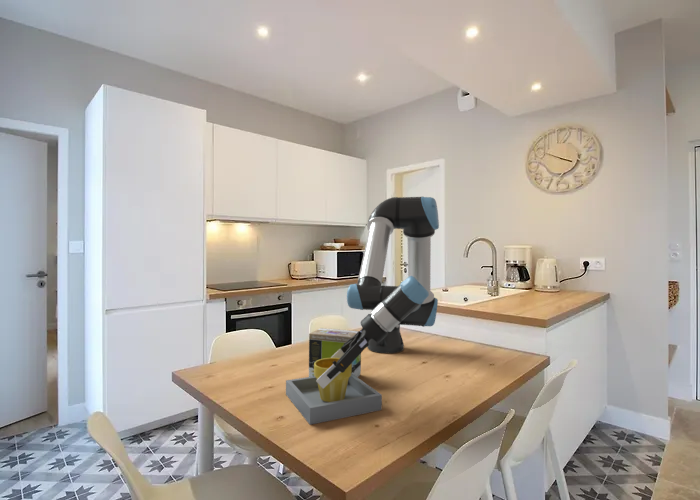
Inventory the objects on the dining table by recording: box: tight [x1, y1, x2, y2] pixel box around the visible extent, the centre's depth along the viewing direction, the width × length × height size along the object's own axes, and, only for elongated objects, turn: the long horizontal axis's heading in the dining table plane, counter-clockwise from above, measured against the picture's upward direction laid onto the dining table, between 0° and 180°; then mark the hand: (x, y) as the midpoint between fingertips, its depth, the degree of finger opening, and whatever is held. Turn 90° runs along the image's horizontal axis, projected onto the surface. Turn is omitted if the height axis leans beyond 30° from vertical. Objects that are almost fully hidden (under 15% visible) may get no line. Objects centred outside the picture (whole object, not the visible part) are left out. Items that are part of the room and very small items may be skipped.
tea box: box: [308, 327, 362, 378], centre depth 123 cm, size 15×10×15 cm, turn 71°
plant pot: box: [314, 358, 352, 402], centre depth 103 cm, size 10×10×10 cm
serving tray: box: [285, 373, 383, 426], centre depth 103 cm, size 20×20×4 cm
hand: (323, 375), depth 103 cm, fingers open, 13 cm apart
